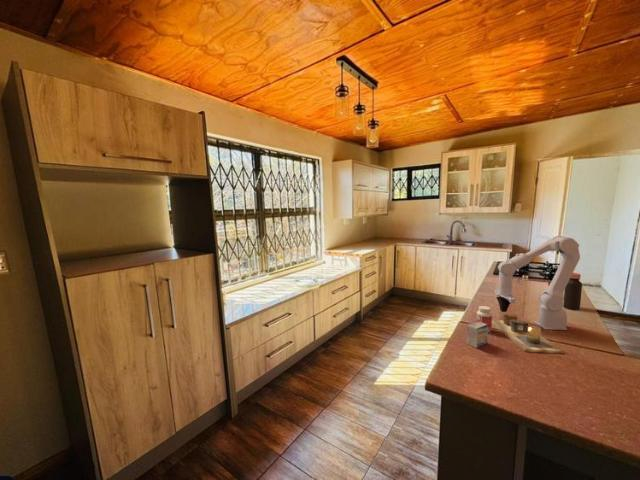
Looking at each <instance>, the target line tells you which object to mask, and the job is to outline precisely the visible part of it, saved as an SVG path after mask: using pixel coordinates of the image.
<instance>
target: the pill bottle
mask: <svg viewBox="0 0 640 480" xmlns="http://www.w3.org/2000/svg"><path fill="white" fill-rule="evenodd" d="M492 320H493V313H492V312H491V307H490V306H485V305H479V306H478V311H476V322H482V323H485V324H487V325H488V333H490V332H491V331H492V326H493V324H492Z"/></svg>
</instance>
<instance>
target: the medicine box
mask: <svg viewBox="0 0 640 480" xmlns="http://www.w3.org/2000/svg"><path fill="white" fill-rule="evenodd" d="M488 333H489V332H488V325H487V324H485V323H482V322H477V321H476V322H473V323H470V324H468V325H466V344H467V345H469V346H470V347H473V348H474V349H477V348H480V347H482V346H484V345H487V344H488Z"/></svg>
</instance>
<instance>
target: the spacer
mask: <svg viewBox="0 0 640 480" xmlns="http://www.w3.org/2000/svg"><path fill="white" fill-rule="evenodd" d="M541 336H542V327H540V326H539V327H538V326H536V325H528V329H527V341H528V342H531V343H534V344H540V338H541Z"/></svg>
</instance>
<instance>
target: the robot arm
mask: <svg viewBox="0 0 640 480" xmlns="http://www.w3.org/2000/svg"><path fill="white" fill-rule="evenodd" d="M579 247H580V244H579V243H578V242H577V241H576V240H575V239H574V238H571V237H566V236H562V235H556V236H553V237H552V238H549V239H547V240H546V241H544V242H543V243H542V244H540V245H537V246H536V247H535V248H534V247H533V248H532V249H531V250H529V251H528V252H526V253H516V254H515V256H513V257H511V258H509V259H505V260H506V261H502V262H500V263H499V264H498V266H497V270H498V272H499V273H498V284H497V289H494V295H495V296H496V297H495V298H496V300H497V302H498V305H499V309H500V312H502V313H507V312H508V309H509V308H510V305H511V304H515V303H516V298H514V296H513V294H512V292H513V278H514V277H513V276H514V274H515V272H516V271H517V270H519V269H520V268H523V267H525V266H526V265H528V264H530V263H531V260H532V259H534V258H536V257H539V256H541V255H542V254H545V253H547V252H559V254H560V256H562V259H561V261H560V263H559V266H558V267H557V269H556V272H555V274H554V276H553V277H552V280H551V282H550V284H549V286H548V287H546V288H545V289H544V290H543V292H542V293H540V294H539V296H538V301H539V302H540V306H539V316H538V321H535V320H534V323H535V324H537V325H538V326H539V327H540V328H542V329H544V330H553V331H556V330H557V331H558V330H561V331H567V330H568V328H567V321H568V319H567V318H568V315H567V312H566V310H564V309H563V308H564V307H563V304H564V292H565V287H566V285H567V283H568V281H569V279H570V277H571V275H572V273H574V271H575V269H576V267H577V266H578V264H579V261H580V260H581V255H580V254H581V253H580V250H579Z"/></svg>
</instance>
